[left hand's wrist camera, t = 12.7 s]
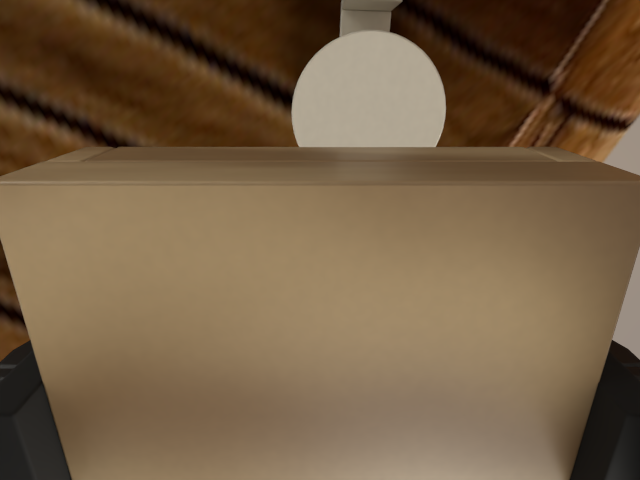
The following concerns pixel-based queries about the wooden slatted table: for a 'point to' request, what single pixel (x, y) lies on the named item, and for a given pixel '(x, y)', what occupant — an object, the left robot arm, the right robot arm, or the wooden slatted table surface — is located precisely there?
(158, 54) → the wooden slatted table surface
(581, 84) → the wooden slatted table surface
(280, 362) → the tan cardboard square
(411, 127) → the toy wooden mallet
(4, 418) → the left robot arm
